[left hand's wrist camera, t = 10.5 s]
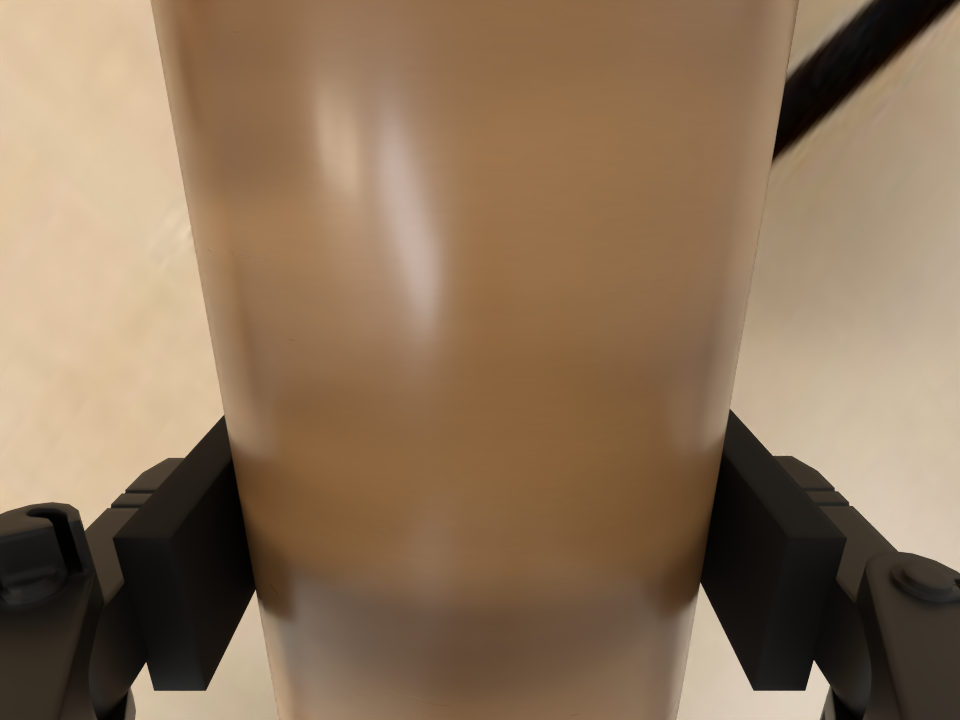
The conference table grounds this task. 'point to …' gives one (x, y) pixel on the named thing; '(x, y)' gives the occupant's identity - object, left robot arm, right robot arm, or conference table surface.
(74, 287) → the conference table surface
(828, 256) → the conference table surface
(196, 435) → the conference table surface
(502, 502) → the rod
